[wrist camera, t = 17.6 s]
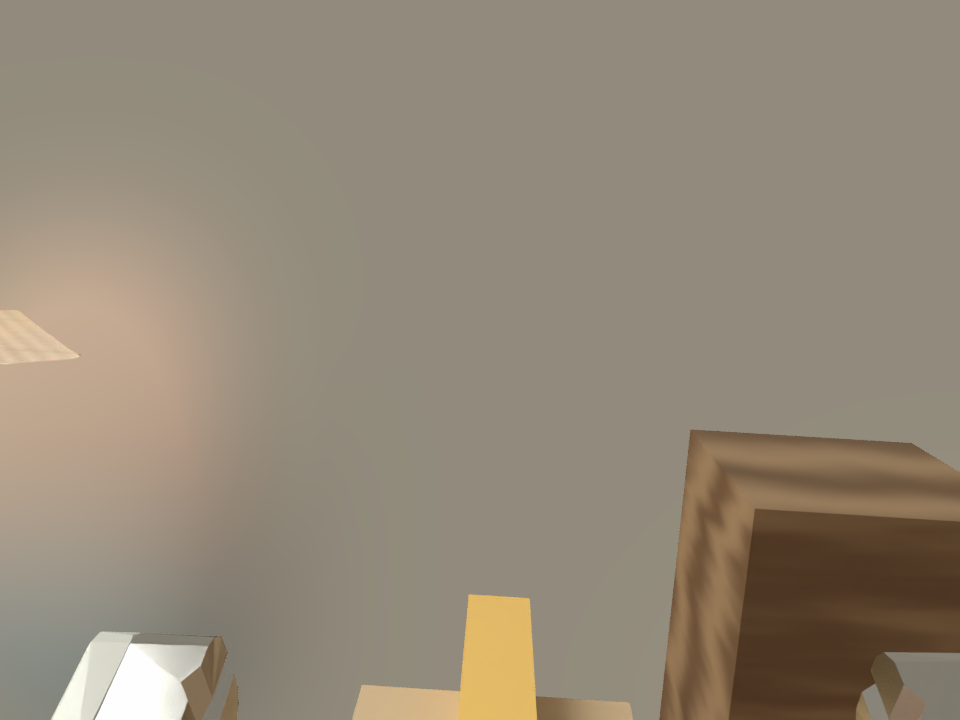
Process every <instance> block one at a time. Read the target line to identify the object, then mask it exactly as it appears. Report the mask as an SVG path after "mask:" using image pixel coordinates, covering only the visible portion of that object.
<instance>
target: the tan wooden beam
mask: <svg viewBox="0 0 960 720" xmlns="http://www.w3.org/2000/svg"><path fill="white" fill-rule="evenodd" d="M458 720H537V711H536V696H535V678H534V663H533V646H532V630H531V614H530V599H529V598H515V597H501V596H486V595H470V594H469V600H468V611H467V623H466V633H465V644H464V655H463V666H462V678H461V688H460V699H459V710H458Z"/></svg>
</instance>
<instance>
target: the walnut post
mask: <svg viewBox="0 0 960 720" xmlns="http://www.w3.org/2000/svg"><path fill="white" fill-rule="evenodd" d="M684 487H685V488H684V496H683V505H682V515H681V525H680V534H679V543H678V552H677V561H676V570H675V580H674V589H673V598H672V608H671V617H670V626H669V636H668V645H667V654H666V664H665V673H664V682H663V691H662V701H661V711H660V719H659V720H856V708H857V705H858V702H859V699H860V696H861V693H862V692H863V691H864V690H866V689H867V688H869V687H871V686H872V685H874V684H875V681H874V678H873V675H872V673H871V668H872V665H873V663H874V661H875V658H876V657H877V656H878V655H880V654H881V653H883V652H908V653H960V472H959V471H957V470H955V469H954V468H952V467H950V466H949V465H947V464H945V463H944V462H942V461H940V460H939V459H937V458H935V457H934V456H932V455H930V454H929V453H927V452H925V451H924V450H922V449H920V448H919V447H917V446H915V445H914V444H912V443H899V442H883V441H867V440H851V439H834V438H833V439H832V438H818V437H817V438H816V437H801V436H785V435H769V434H753V433H752V434H751V433H737V432H720V431H704V430H690V440H689V450H688V459H687V469H686V477H685V486H684Z"/></svg>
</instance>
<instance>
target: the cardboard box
mask: <svg viewBox="0 0 960 720" xmlns="http://www.w3.org/2000/svg"><path fill="white" fill-rule="evenodd" d="M459 699H460V692H459V691H445V690H430V689H415V688H400V687H384V686H369V685H362V687H361V691H360V694H359V697H358V701H357V705H356V708H355V711H354V715H353V718H352V720H458V710H459ZM536 711H537V720H633V716H632V712H631V708H630V704H629V703H626V702H611V701H597V700H582V699H567V698H550V697H536Z"/></svg>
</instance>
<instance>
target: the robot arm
mask: <svg viewBox="0 0 960 720" xmlns="http://www.w3.org/2000/svg"><path fill="white" fill-rule="evenodd" d="M226 656H227V650H226V647H225V644H224V642H223V639H222V637H220V636H219V637H218V636H197V635H173V634H150V633H149V634H148V633H132V632H131V633H130V632H100V633H99V634H98V635H97V636H96V637H95V638H94V639H93V640H92V642H91V643H90V644H89V645H88V647H87V649H86V651H85V653H84V655H83V657H82V659H81V661H80V663H79V665H78V667H77V669H76V671H75V673H74V675H73V677H72V679H71V681H70V683H69V685H68V687H67V689H66V691H65V693H64V695H63V697H62V699H61V701H60V703H59V705H58V707H57V709H56V711H55V713H54V715H53V717H52V719H51V720H236V719H237V711H238V703H239V702H238V687H237V683H236V680H235V676H234V674H233V673H231V672H230V671H229V670H227V669H226V668H225V667H223V665H224V662H225V659H226ZM871 673H872V675H873V678H874V681H875V684H874V685H872V686H871V687H869V688H867V689H866V690H864V691H863V692H862V693H861V696H860V699H859V702H858V705H857V708H856V720H960V653H908V652H883V653H881V654H880V655H878V656H877V657H876V658H875V661H874V663H873V665H872V668H871Z"/></svg>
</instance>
